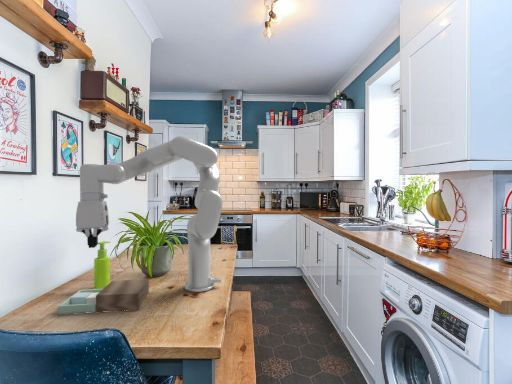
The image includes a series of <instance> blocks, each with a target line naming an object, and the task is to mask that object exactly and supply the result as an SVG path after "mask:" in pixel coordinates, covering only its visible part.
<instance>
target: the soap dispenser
mask: <svg viewBox="0 0 512 384" xmlns="http://www.w3.org/2000/svg"><path fill="white" fill-rule="evenodd" d="M110 243H111V241H105V240H104V241H100V242H99V241H98V244H97V245H99V249H98V250H97V257H95V258H94V260H93V261H94V263H93V264H94V265H93V266H94V268H93V270H94V271H93V274H94V277H93V278H94V279H93V282H94V283H93V285H94V288H93V289H104V288H105V287H106V286H107V285H108V284H109V283H110V282H111V265H110V264H111V258H110V256H107V252H108V251H107V249H106V248H105V245H106V244H110Z"/></svg>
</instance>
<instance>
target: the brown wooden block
mask: <svg viewBox="0 0 512 384" xmlns="http://www.w3.org/2000/svg"><path fill="white" fill-rule="evenodd" d="M148 294H149V295H150V279H149V278H147V279H144V278H143V279H130V280H129V279H126V280H123V279H122V280H121V279H120V280H111V281H110V283H109V284H108V285H107V286H106V287H105V288H104V289H103V290H102V291H100V292H99V293H98V294H97V295H96V312H102V313H104V312H103V311H119V312H127V311H126V310H135V311H140V309H141V308H142V306H143V304H144V303H145V301H146V299H147V298H146V297H148V296H149V295H148ZM147 295H148V296H147ZM144 300H145V301H144ZM143 302H144V303H143ZM141 305H142V306H141ZM124 310H125V311H124Z"/></svg>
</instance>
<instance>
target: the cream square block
mask: <svg viewBox="0 0 512 384" xmlns="http://www.w3.org/2000/svg"><path fill="white" fill-rule="evenodd" d="M97 294H98V293H91V294H90V295H89V296H88V297H87V298H86V304H93V303H96V295H97Z"/></svg>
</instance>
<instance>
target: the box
mask: <svg viewBox="0 0 512 384" xmlns="http://www.w3.org/2000/svg"><path fill="white" fill-rule="evenodd" d="M102 290H103V289H94V288H93V289H92V288H91V289H79V290H78V291H76V292H75V293H74V294H72V295H71V296H70V297H69V298H67V299H66V300H64V301H63V302H62V303H61V304H59V305H58V306H57V316H62V315H61V314H69V315H75V314H74V313H86V312H96V303H93V304H75V305H71V297H72V296H74V295H75V294H77V293H83V292H92V293H99V292H100V291H102ZM86 314H87V313H86Z"/></svg>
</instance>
